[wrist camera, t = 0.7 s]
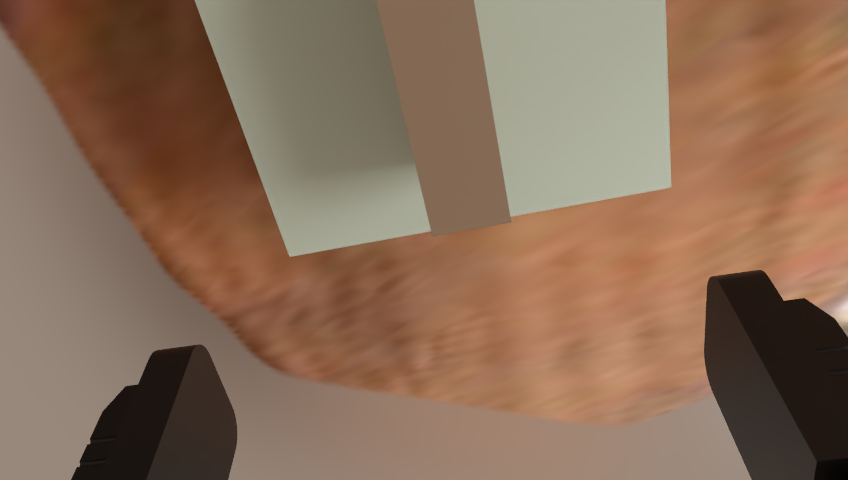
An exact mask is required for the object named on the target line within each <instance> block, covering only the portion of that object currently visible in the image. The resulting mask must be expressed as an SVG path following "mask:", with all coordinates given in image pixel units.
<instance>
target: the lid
mask: <svg viewBox="0 0 848 480" xmlns="http://www.w3.org/2000/svg"><path fill="white" fill-rule="evenodd" d="M195 3H196V5H197V8H198V11H199V14H200V16H201V19H202V22H203V24H204V27H205V30H206V32H207V35H208V38H209V41H210V43H211V46H212V49H213V51H214V54H215V57H216V59H217V62H218V65H219V68H220V70H221V73H222V76H223V78H224V81H225V84H226V86H227V89H228V92H229V95H230V97H231V100H232V103H233V105H234V108H235V111H236V113H237V116H238V119H239V122H240V124H241V127H242V130H243V132H244V135H245V138H246V140H247V143H248V146H249V149H250V151H251V154H252V157H253V159H254V162H255V165H256V167H257V170H258V173H259V176H260V178H261V181H262V184H263V186H264V189H265V192H266V194H267V197H268V200H269V203H270V205H271V208H272V211H273V213H274V216H275V219H276V221H277V224H278V227H279V230H280V232H281V235H282V238H283V240H284V243H285V246H286V248H287V251H288V254H289V257H292V256H297V255H303V254H308V253H314V252H319V251H325V250H330V249H336V248H341V247H347V246H352V245H358V244H363V243H369V242H374V241H380V240H385V239H391V238H396V237H402V236H407V235H413V234H418V233H424V232H429V231H431V233H432V236H438V235H443V234H449V233H454V232H460V231H465V230H471V229H476V228H482V227H487V226H493V225H498V224H504V223H509V222H511V217H512V216H517V215H523V214H528V213H534V212H539V211H545V210H550V209H556V208H561V207H567V206H572V205H578V204H583V203H589V202H594V201H600V200H605V199H611V198H616V197H622V196H627V195H633V194H638V193H644V192H649V191H655V190H660V189H666V188H671V164H670V131H669V98H668V65H667V32H666V0H195Z"/></svg>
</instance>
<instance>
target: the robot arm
mask: <svg viewBox="0 0 848 480" xmlns="http://www.w3.org/2000/svg"><path fill="white" fill-rule="evenodd" d="M704 357H705V365H706V371H707V376H708V380H709V383H710V386H711V389H712V391H713V394H714V396H715V398H716V401H717V403H718V405H719V407H720V409H721V412H722V414H723V416H724V418H725V420H726V423H727V425H728V427H729V430H730V432H731V434H732V436H733V439H734V441H735V443H736V445H737V447H738V450H739V452H740V454H741V456H742V459H743V461H744V463H745V465H746V467H747V470H748V472H749V474H750V477H751V479H752V480H848V337H847V335H846V334H845V333H844V331H843V330H842V328H841V327H840V326H839V324H838V323H837V321H836V320H835V319H834V318H833V317H831V316H830V315H828V314H827V313H825V312H824V311H823V310H821V309H820V308H818V307H817V306H815V305H814V304H812V303H811V302H809V301H808V300H806V299H805V298H802V299H795V300H787V301H783V299H782V297H781V296H780V294H779V293H778V291H777V290H776V288H775V287H774V285H773V283H772V282H771V280H770V279H769V277H768V276H767V274H766V273H765V272H764V271H762V270H756V271H748V272H741V273H734V274H726V275H719V276H712V277H710V278H709V281H708V285H707V301H706V323H705V344H704ZM90 441H91V443H90V444H88V445H87V447H86V449H85V451H84V453H83V455H82V458H81V460H80V467H77V468H76V471H75V473H74V475H73V477H72V479H71V480H228V478H229V473H230V469H231V466H232V462H233V458H234V453H235V450H236V444H237V424H236V418H235V413H234V410H233V408H232V405H231V403H230V401H229V398H228V396H227V394H226V391H225V389H224V387H223V384H222V382H221V380H220V377H219V375H218V373H217V371H216V368H215V366H214V363H213V361H212V359H211V357H210V354H209V352H208V351H207V349H206V348H205V347H204V346H202V345H193V346H186V347H178V348H171V349H163V350H157V351H155V352H153V353H152V355H151V356H150V358H149V360H148V363H147V365H146V367H145V370H144V372H143V375H142V377H141V379H140V382H139V384H138V385H132V386H126V387H125V388H124V389H123V390H122V391H121V392H120V393H119V394H118V395H117V396H116V398H115V399H114V400H113V401H112V402H111V403H110V404H109V405H108V406H107V408H106V409H105V410H104V411H103V412H102V414H101V416H100V418H99V420H98V423H97V425H96V427H95V429H94V432H93V434H92V436H91V438H90Z"/></svg>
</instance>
